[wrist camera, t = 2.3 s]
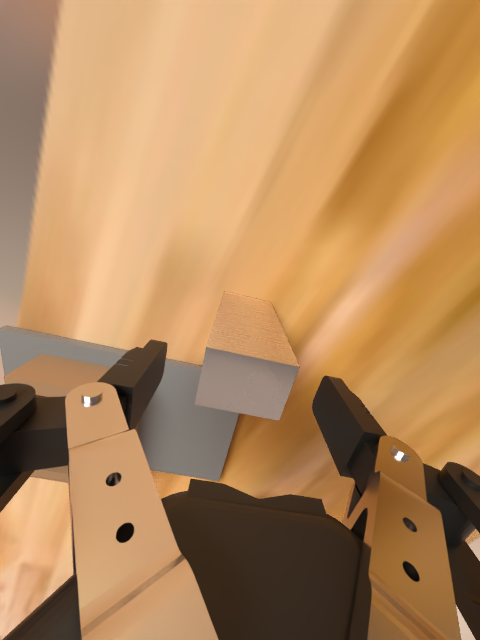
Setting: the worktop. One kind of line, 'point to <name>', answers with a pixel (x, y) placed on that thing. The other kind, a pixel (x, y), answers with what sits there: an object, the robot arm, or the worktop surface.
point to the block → (247, 360)
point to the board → (158, 418)
